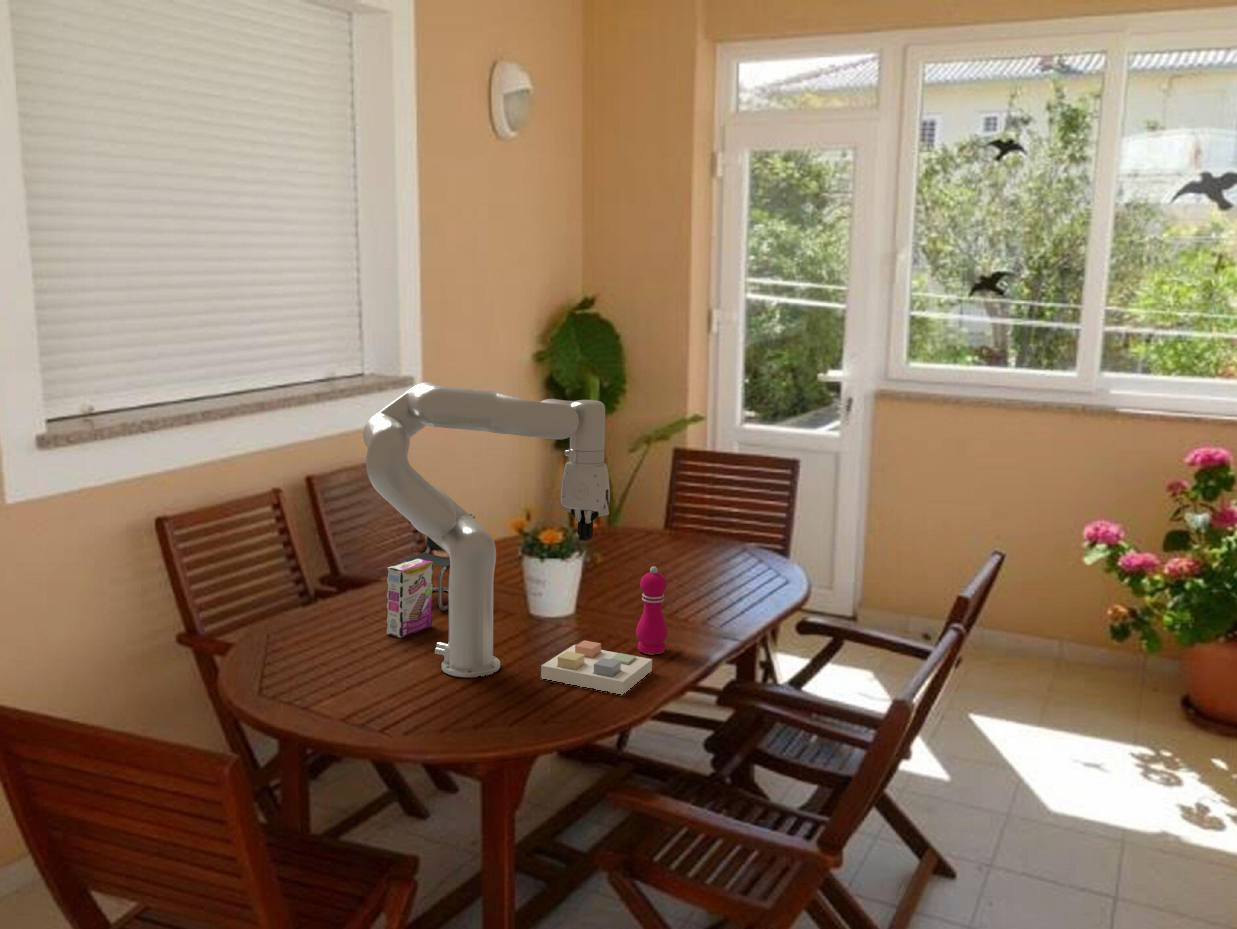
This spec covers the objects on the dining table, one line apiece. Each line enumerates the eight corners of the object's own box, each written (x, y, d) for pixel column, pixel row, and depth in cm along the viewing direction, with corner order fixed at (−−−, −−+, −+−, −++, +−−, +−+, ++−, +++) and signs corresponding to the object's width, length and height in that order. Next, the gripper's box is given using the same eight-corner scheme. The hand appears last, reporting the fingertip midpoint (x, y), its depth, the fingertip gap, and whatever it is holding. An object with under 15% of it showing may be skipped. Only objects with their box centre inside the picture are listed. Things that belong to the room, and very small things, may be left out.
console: (541, 679, 229) (541, 665, 228) (573, 657, 242) (574, 644, 242) (622, 695, 221) (622, 681, 220) (651, 672, 234) (652, 659, 234)
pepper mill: (640, 657, 243) (643, 571, 240) (631, 646, 250) (634, 563, 247) (671, 655, 245) (674, 569, 242) (661, 644, 252) (664, 561, 249)
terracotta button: (575, 656, 235) (575, 645, 235) (583, 650, 239) (583, 640, 239) (592, 659, 234) (592, 649, 233) (600, 653, 237) (601, 643, 237)
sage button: (610, 669, 232) (610, 658, 232) (618, 663, 236) (618, 652, 235) (627, 672, 230) (628, 662, 230) (635, 666, 234) (636, 656, 234)
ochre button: (557, 667, 228) (557, 657, 228) (566, 661, 232) (567, 651, 232) (575, 671, 226) (575, 660, 226) (584, 665, 230) (584, 654, 230)
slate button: (593, 675, 225) (593, 664, 224) (602, 668, 228) (602, 657, 228) (611, 678, 223) (612, 667, 223) (620, 672, 227) (620, 661, 226)
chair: (477, 595, 287) (477, 514, 283) (441, 613, 271) (441, 527, 267) (435, 589, 292) (435, 509, 288) (397, 606, 276) (397, 522, 272)
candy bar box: (402, 639, 251) (401, 570, 249) (386, 635, 254) (385, 567, 251) (433, 626, 261) (433, 560, 258) (418, 622, 263) (417, 557, 261)
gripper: (548, 456, 235) (547, 538, 238) (610, 462, 229) (608, 547, 232) (564, 451, 242) (563, 531, 245) (625, 457, 235) (623, 540, 238)
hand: (585, 539), depth 238 cm, fingers closed
